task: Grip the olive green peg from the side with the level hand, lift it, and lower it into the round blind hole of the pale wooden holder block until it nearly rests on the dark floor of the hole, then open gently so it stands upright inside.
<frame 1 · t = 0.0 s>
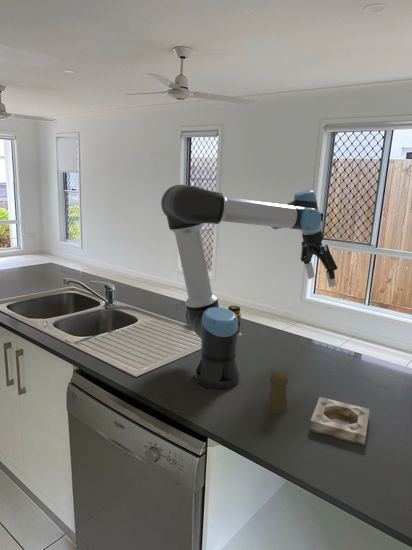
hand: (321, 281, 158), 28 cm above the worktop, tool tilted 20°, fingers open, 13 cm apart
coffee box: (206, 321, 191), on the worktop
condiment: (230, 333, 178), on the worktop
olive green peg: (276, 408, 119), on the worktop
holder block: (339, 424, 112), on the worktop
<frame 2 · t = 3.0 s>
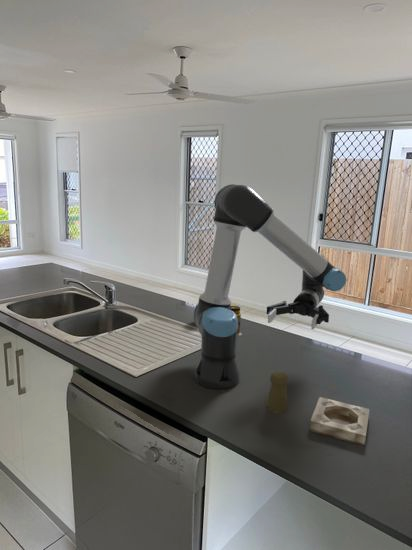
hand: (290, 321, 123), 24 cm above the worktop, tool horizontal, fingers open, 13 cm apart
nothing on the worktop moved.
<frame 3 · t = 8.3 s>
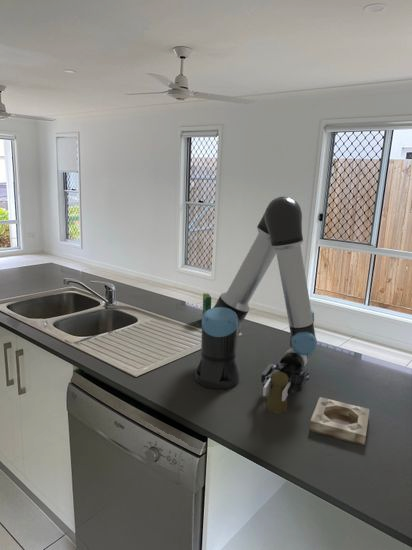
hand: (273, 394, 113), 7 cm above the worktop, tool horizontal, fingers closed on olive green peg, 5 cm apart
olive green peg: (276, 408, 119), on the worktop, touching gripper
everything else where it was.
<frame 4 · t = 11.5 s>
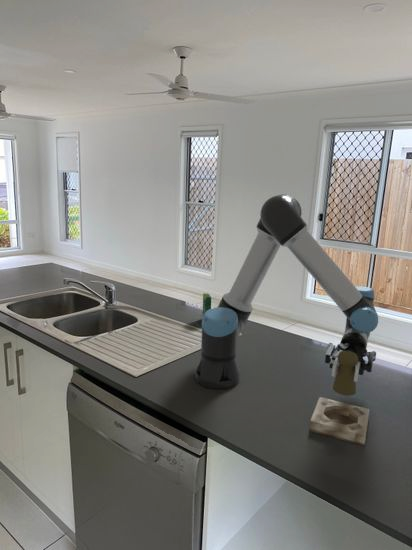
hand: (344, 374, 103), 18 cm above the worktop, tool horizontal, fingers closed on olive green peg, 5 cm apart
olive green peg: (344, 390, 109), point 10 cm above the worktop, touching gripper
everything else where it was.
when the fingers open (8 cm above the worktop, at t = 14.9 s): olive green peg moves 1 cm, resting on holder block.
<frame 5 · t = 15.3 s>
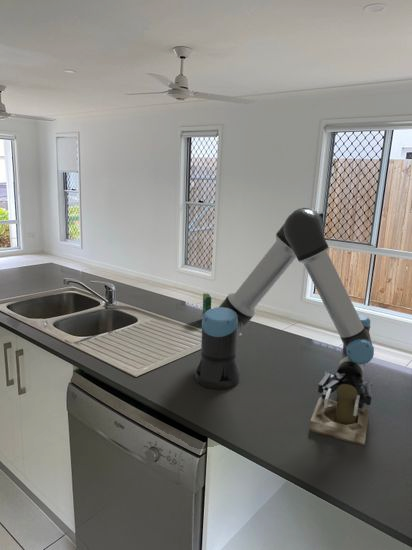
hand: (340, 407, 105), 8 cm above the worktop, tool horizontal, fingers open, 7 cm apart
olive green peg: (345, 423, 111), point 1 cm above the worktop, touching gripper, holder block
everything else where it was.
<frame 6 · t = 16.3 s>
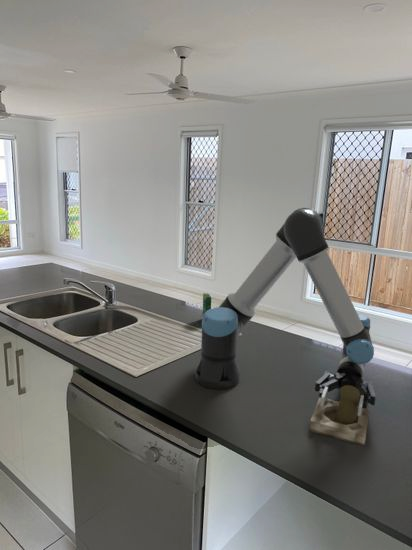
hand: (340, 406, 106), 8 cm above the worktop, tool horizontal, fingers open, 9 cm apart
olive green peg: (345, 424, 111), resting on holder block
everything else where it was.
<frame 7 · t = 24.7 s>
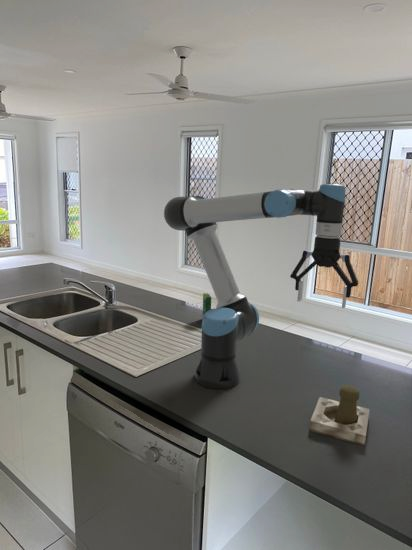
hand: (321, 303, 126), 29 cm above the worktop, tool pointing down, fingers open, 13 cm apart
nothing on the worktop moved.
at the end: olive green peg 1.5 cm off-centre on the holder block, point 0.3 cm above the holder block's base; olive green peg tilted 0°; the gripper is holding nothing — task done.
